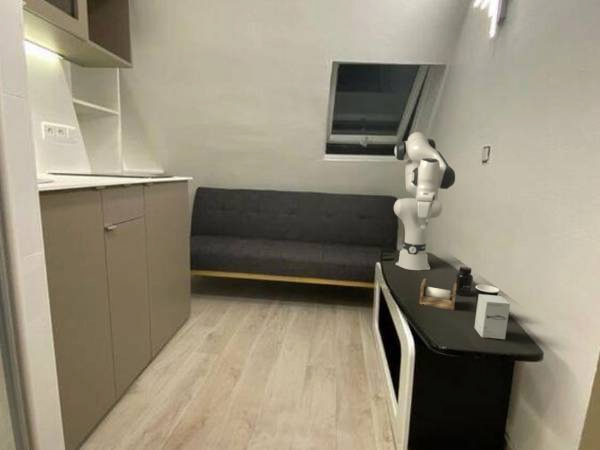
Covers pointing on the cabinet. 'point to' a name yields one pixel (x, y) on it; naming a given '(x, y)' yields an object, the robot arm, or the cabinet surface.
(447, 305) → the holder
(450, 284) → the cabinet surface
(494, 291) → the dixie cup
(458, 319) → the cabinet surface
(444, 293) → the paper roll
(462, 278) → the supplement bottle
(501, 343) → the cabinet surface
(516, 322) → the cabinet surface
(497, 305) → the supplement box
